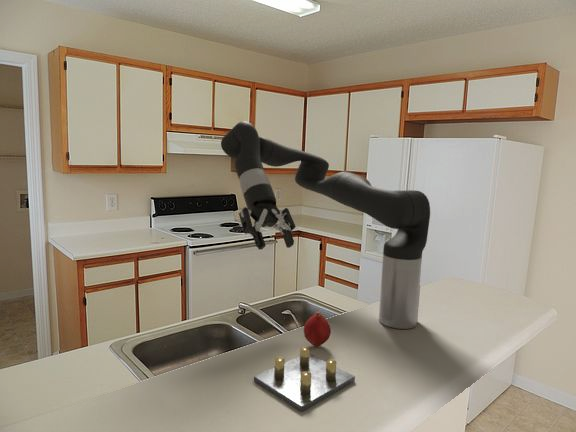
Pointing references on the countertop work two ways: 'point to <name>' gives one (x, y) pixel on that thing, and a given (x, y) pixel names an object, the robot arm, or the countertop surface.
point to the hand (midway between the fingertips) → (276, 247)
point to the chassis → (304, 379)
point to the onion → (317, 330)
